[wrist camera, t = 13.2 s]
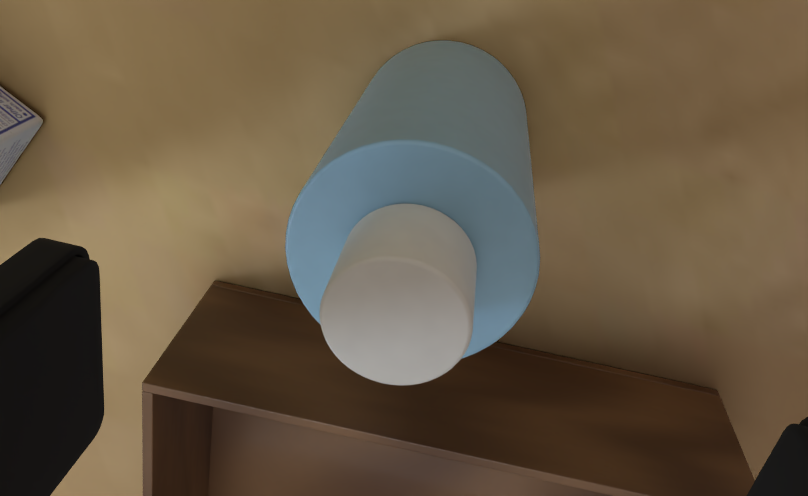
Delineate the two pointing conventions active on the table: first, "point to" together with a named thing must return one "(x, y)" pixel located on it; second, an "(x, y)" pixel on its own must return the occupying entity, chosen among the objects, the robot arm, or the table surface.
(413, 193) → the bottle
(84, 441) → the robot arm
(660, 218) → the table surface
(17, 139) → the medicine box
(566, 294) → the table surface
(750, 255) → the table surface
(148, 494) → the wooden box
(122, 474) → the table surface
